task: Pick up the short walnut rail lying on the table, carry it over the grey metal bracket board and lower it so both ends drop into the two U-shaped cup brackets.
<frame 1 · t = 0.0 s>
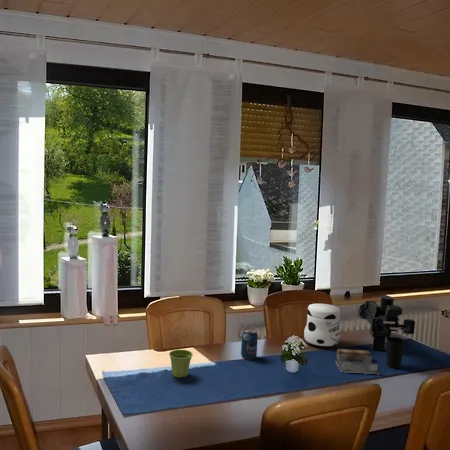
hand: (398, 331, 217), 17 cm above the table, tool horizontal, fingers open, 9 cm apart
rail: (353, 359, 228), on the table
soda can: (248, 357, 225), on the table
milk container: (321, 344, 247), on the table
brackets: (357, 368, 218), on the table
cup: (393, 366, 222), on the table
plant pot: (180, 375, 202), on the table
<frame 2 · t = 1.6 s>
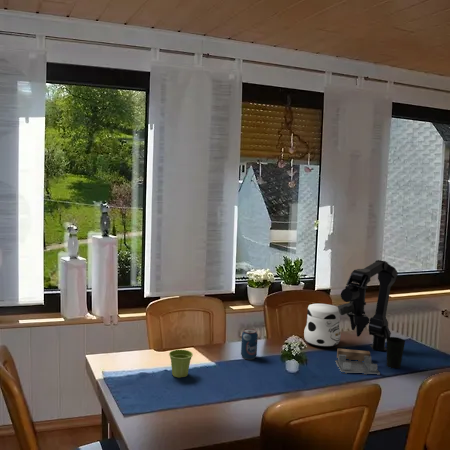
hand: (355, 333, 227), 12 cm above the table, tool pointing down, fingers open, 9 cm apart
nothing on the table moved.
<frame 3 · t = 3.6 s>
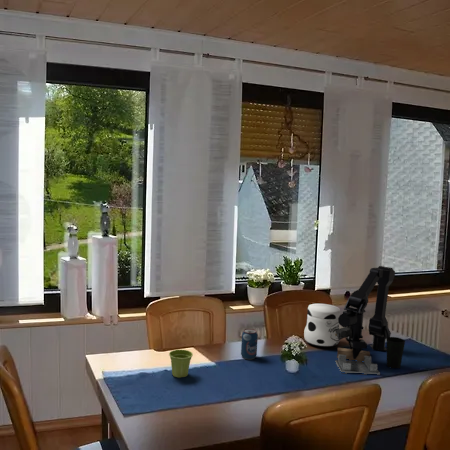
hand: (353, 356, 228), 1 cm above the table, tool pointing down, fingers open, 4 cm apart
nothing on the table moved.
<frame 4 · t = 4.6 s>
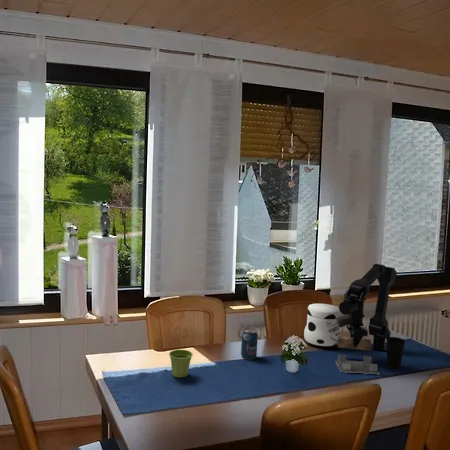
hand: (354, 345, 228), 7 cm above the table, tool pointing down, fingers closed on rail, 4 cm apart
rail: (353, 347, 228), point 5 cm above the table, touching gripper
everything else where it was.
when the fingers open (3 cm above the table, at t = 8.4 s): rail stays where it is, resting on brackets.
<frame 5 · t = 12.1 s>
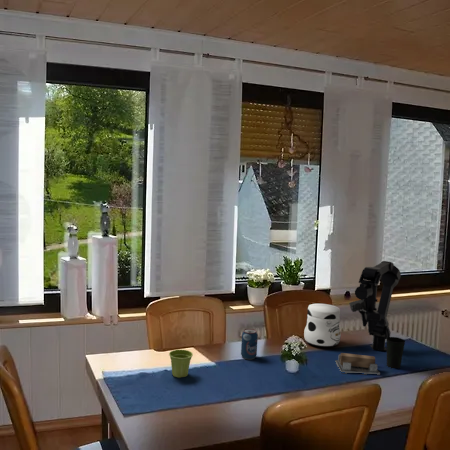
hand: (366, 329, 230), 13 cm above the table, tool pointing down, fingers open, 9 cm apart
rail: (357, 365, 217), point 1 cm above the table, touching brackets
everything else where it was.
at the end: rail 0.1 cm off-centre on the brackets, point 1.5 cm above the brackets's base; rail tilted 0°; the gripper is holding nothing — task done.
